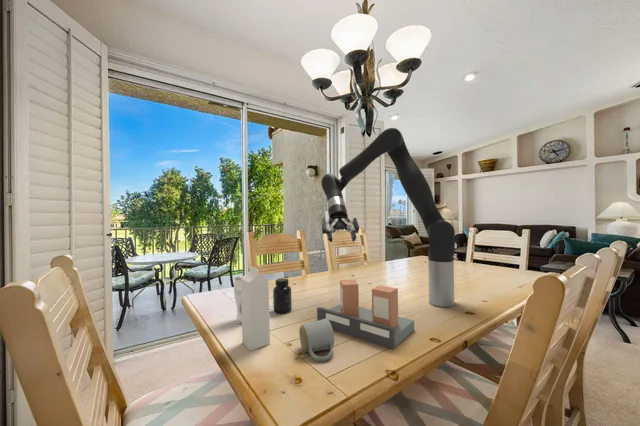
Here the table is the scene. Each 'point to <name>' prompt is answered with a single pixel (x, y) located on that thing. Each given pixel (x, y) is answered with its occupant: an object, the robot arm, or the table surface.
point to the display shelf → (367, 326)
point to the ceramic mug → (317, 338)
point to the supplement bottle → (282, 297)
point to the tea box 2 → (385, 305)
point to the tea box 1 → (349, 297)
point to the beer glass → (238, 298)
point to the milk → (255, 310)
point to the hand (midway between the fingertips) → (342, 240)
